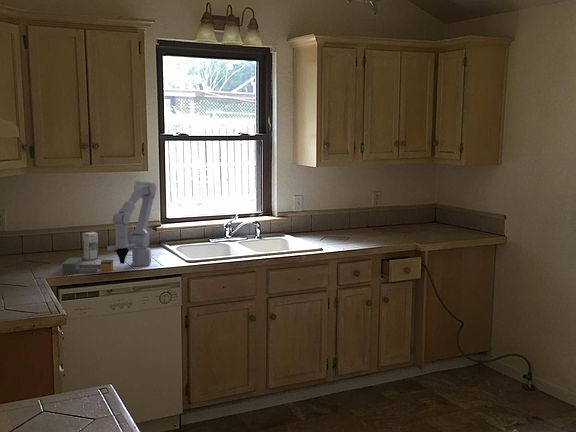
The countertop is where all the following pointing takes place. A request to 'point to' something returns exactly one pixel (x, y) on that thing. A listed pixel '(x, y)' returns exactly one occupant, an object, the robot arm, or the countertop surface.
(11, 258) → the countertop surface
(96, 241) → the syrup box
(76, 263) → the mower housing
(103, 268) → the orange-topped grey cube
